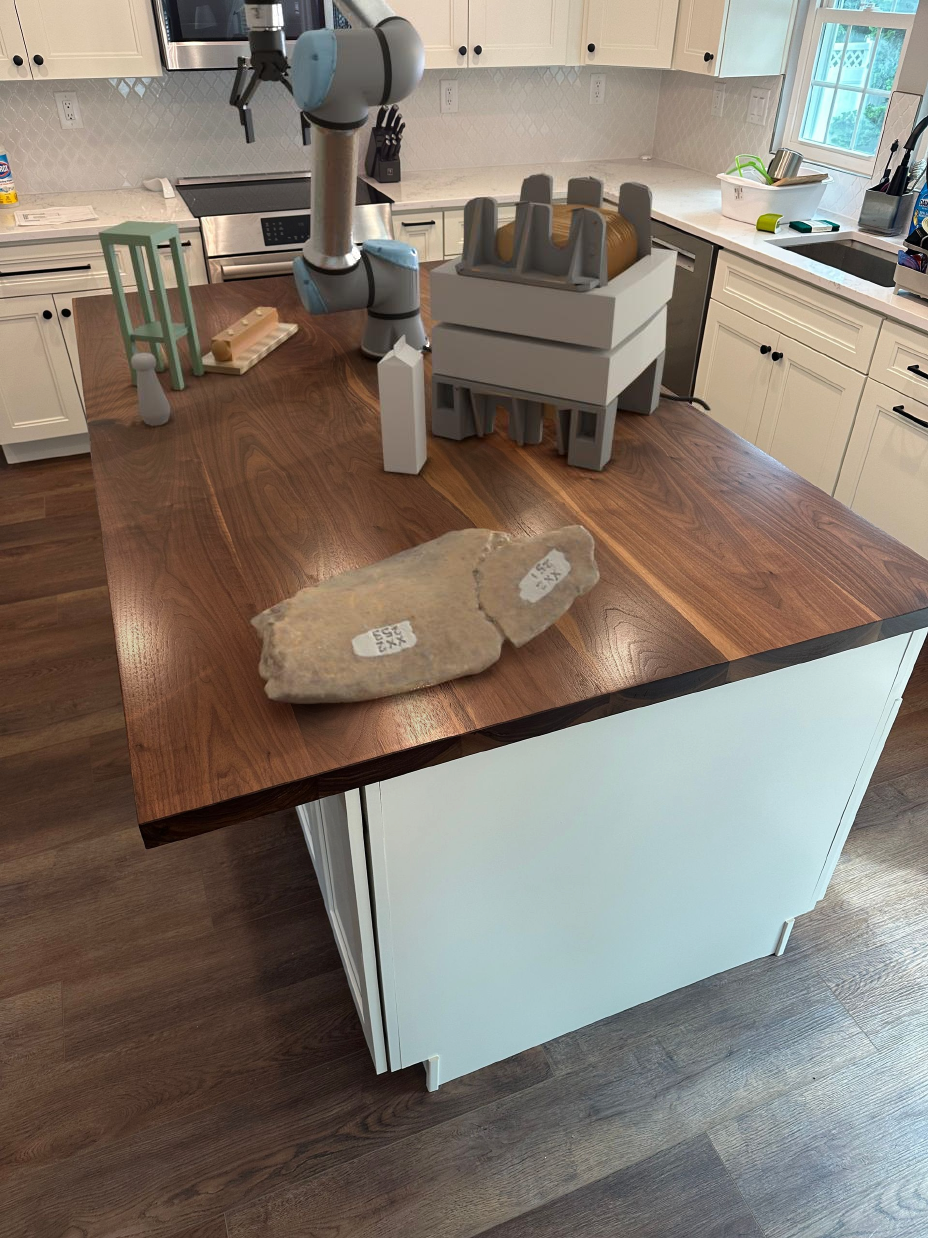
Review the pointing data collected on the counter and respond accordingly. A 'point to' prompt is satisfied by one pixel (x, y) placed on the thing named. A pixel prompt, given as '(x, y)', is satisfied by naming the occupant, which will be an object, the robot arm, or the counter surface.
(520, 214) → the transformer
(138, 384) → the salt shaker
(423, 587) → the rock
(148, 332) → the green shelf
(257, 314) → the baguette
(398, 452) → the milk
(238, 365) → the bread board
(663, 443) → the counter surface
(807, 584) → the counter surface
